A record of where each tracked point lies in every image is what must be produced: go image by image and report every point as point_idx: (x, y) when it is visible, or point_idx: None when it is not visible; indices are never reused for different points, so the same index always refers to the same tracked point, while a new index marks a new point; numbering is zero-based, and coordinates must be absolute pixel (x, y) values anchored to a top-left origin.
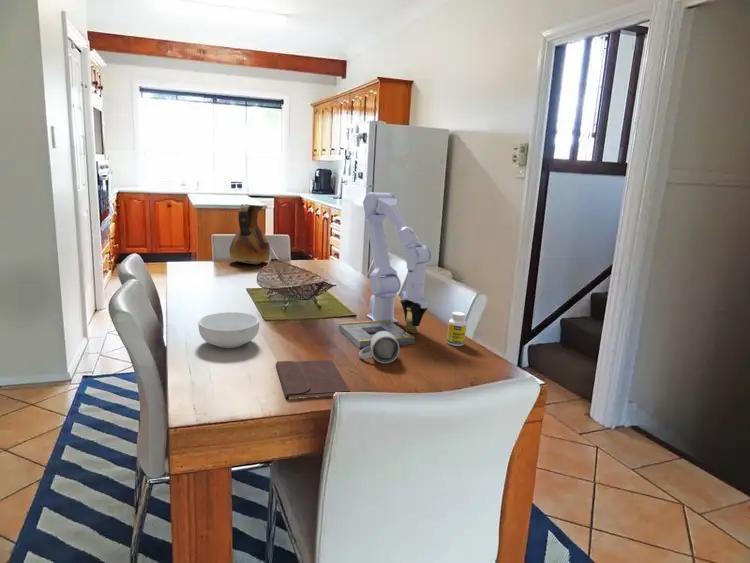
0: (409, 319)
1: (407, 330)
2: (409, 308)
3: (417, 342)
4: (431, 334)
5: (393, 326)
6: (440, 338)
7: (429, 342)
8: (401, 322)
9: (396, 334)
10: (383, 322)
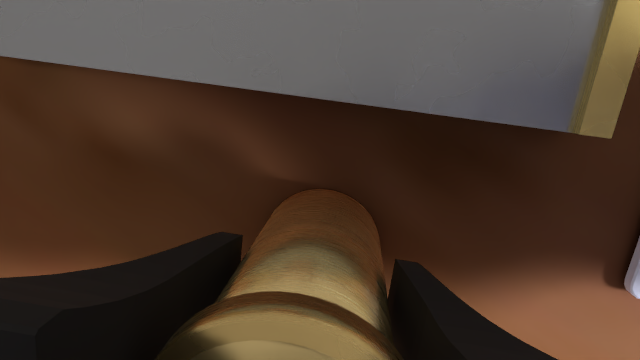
0: (269, 243)
1: (307, 193)
2: (223, 331)
3: (42, 109)
4: None
5: (367, 44)
6: None
7: (24, 207)
8: (604, 322)
9: None
10: (568, 8)
